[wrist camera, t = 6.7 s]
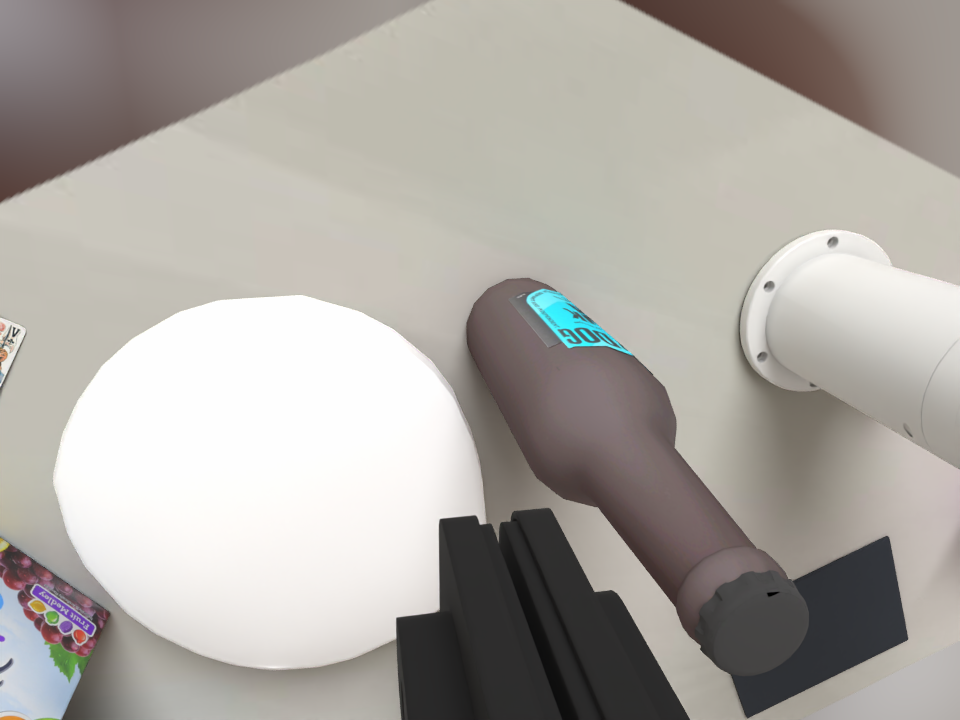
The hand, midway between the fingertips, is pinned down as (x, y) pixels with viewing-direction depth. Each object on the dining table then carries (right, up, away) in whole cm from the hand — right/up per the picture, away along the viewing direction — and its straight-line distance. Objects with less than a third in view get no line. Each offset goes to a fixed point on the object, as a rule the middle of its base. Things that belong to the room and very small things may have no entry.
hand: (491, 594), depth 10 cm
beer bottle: (+2, +6, +37) cm, 38 cm away
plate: (-14, -5, +38) cm, 40 cm away
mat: (+32, -22, +54) cm, 66 cm away
